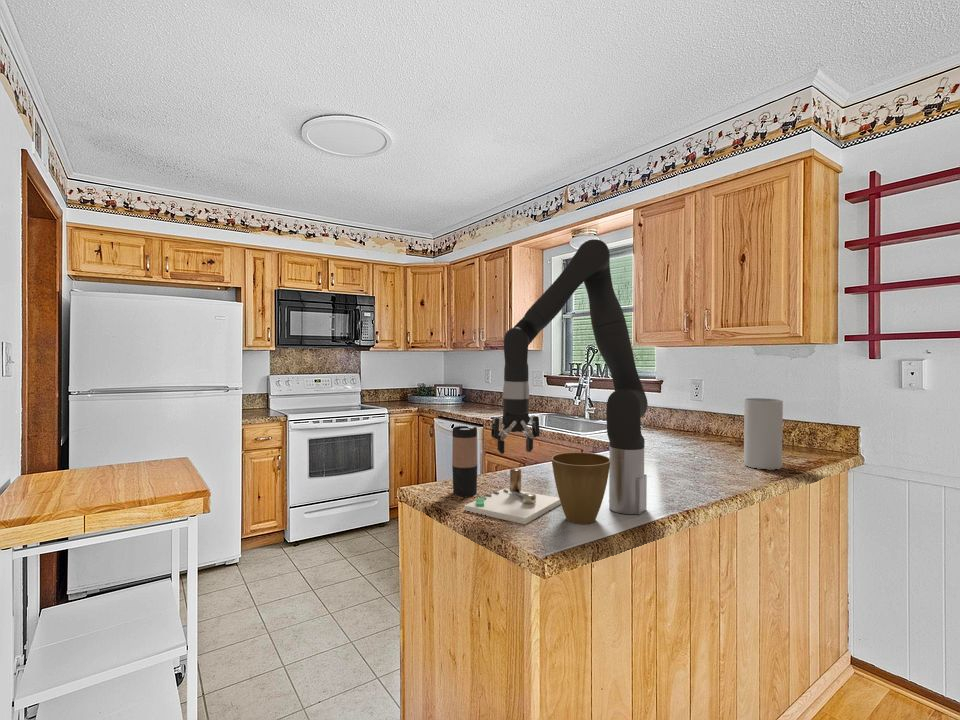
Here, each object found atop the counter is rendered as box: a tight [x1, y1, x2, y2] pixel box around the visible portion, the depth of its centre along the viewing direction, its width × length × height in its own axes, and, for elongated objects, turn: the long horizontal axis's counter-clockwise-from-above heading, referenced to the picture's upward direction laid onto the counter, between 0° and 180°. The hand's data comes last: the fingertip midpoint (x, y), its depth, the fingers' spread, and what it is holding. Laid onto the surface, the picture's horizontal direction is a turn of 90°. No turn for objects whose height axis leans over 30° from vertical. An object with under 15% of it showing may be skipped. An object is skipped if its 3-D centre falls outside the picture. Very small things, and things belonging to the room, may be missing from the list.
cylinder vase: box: [743, 397, 784, 471], centre depth 192 cm, size 12×12×25 cm
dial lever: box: [509, 467, 536, 504], centre depth 146 cm, size 14×4×7 cm, turn 21°
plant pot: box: [551, 451, 610, 525], centre depth 133 cm, size 15×15×16 cm
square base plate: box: [463, 487, 561, 525], centre depth 144 cm, size 20×21×2 cm
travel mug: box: [451, 425, 478, 497], centre depth 157 cm, size 8×8×20 cm
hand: (515, 452), depth 150 cm, fingers open, 8 cm apart
